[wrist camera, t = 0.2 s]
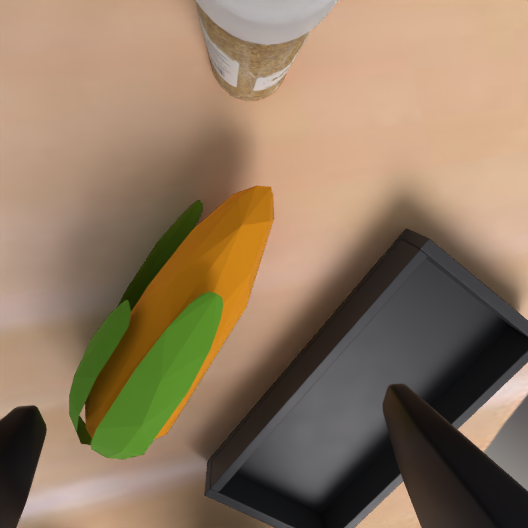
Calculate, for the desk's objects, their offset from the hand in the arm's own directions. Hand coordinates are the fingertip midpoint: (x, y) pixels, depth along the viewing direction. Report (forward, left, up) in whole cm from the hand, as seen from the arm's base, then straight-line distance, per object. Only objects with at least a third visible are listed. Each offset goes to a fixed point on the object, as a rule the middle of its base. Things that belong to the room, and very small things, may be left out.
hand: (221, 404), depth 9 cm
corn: (-5, +1, -15) cm, 16 cm away
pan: (-4, -15, -15) cm, 22 cm away
